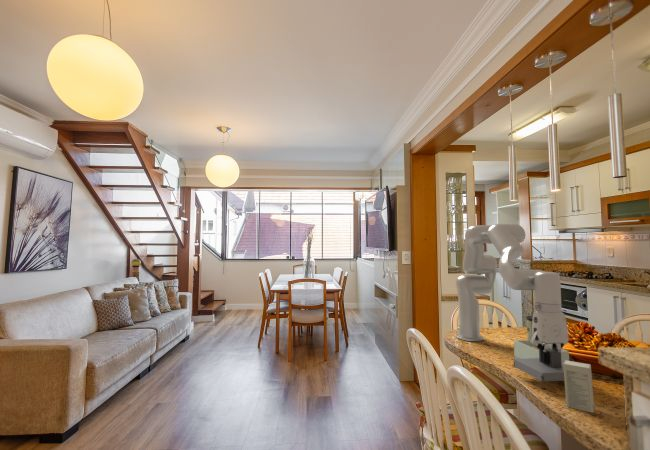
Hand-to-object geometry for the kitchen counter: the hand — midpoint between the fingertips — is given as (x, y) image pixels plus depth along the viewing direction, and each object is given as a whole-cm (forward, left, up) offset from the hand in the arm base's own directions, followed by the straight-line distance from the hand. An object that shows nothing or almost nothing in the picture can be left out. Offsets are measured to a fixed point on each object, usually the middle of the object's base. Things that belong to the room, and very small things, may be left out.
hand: (550, 362), depth 110 cm
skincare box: (+16, -5, -7) cm, 18 cm away
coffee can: (-33, +24, -7) cm, 41 cm away
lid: (0, 0, -3) cm, 3 cm away
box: (-17, +11, -7) cm, 21 cm away
